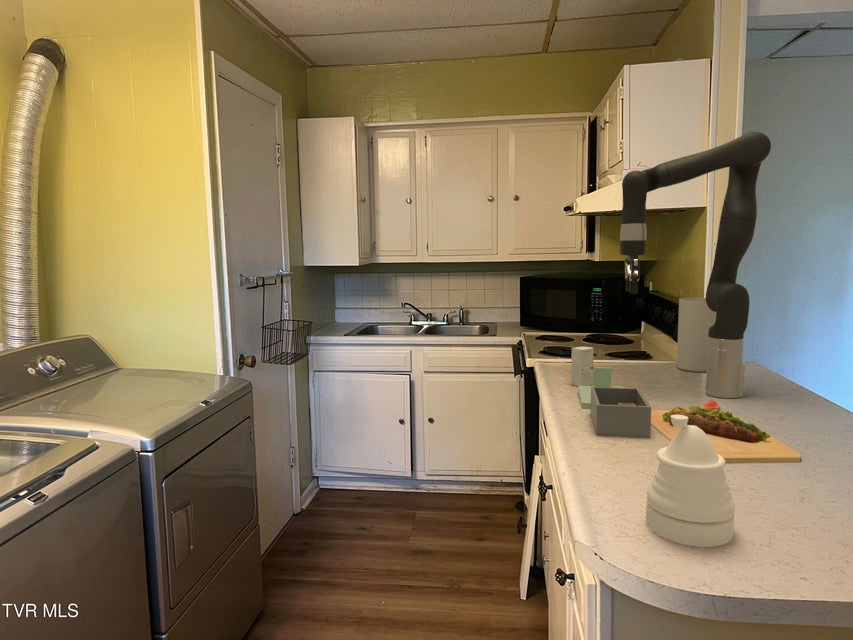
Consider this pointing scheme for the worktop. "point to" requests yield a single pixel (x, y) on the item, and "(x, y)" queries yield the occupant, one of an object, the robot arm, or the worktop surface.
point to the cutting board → (727, 434)
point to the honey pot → (690, 491)
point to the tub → (620, 412)
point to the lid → (595, 385)
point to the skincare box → (582, 366)
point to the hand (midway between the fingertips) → (631, 292)
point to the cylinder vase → (693, 334)
